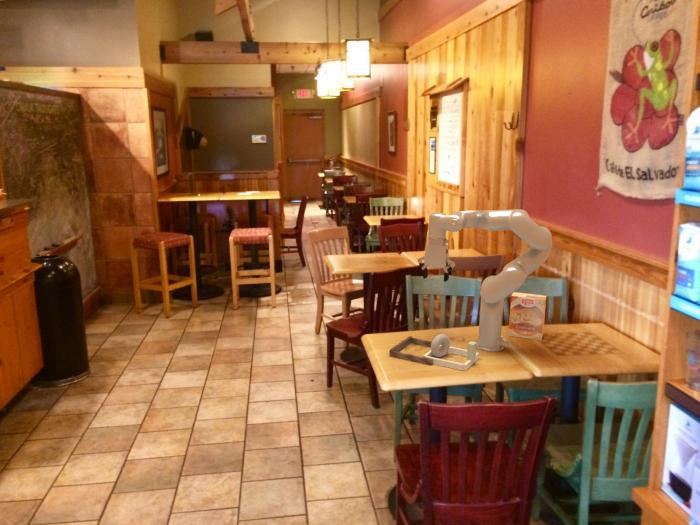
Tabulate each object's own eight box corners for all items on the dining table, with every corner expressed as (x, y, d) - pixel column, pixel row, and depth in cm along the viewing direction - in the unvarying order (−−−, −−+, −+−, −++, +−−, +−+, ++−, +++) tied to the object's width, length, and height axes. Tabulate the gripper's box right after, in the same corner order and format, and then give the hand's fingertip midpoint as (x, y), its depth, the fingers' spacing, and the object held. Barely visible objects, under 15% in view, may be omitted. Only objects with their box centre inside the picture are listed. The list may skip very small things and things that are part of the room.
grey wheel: (434, 361, 242) (435, 337, 240) (428, 358, 245) (429, 335, 243) (451, 355, 248) (452, 333, 246) (445, 353, 251) (446, 330, 249)
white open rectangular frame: (480, 358, 245) (481, 337, 243) (467, 371, 231) (468, 350, 229) (437, 349, 254) (438, 329, 252) (422, 361, 241) (423, 340, 239)
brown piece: (449, 350, 254) (449, 344, 253) (431, 366, 237) (431, 359, 236) (409, 342, 263) (409, 336, 262) (389, 356, 246) (389, 349, 246)
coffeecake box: (507, 336, 272) (510, 295, 268) (509, 331, 279) (512, 291, 274) (541, 340, 267) (545, 299, 262) (543, 335, 273) (546, 295, 269)
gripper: (459, 242, 254) (457, 280, 258) (422, 238, 263) (420, 275, 267) (452, 244, 248) (450, 284, 252) (415, 240, 257) (413, 278, 260)
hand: (435, 279), depth 259 cm, fingers open, 9 cm apart
